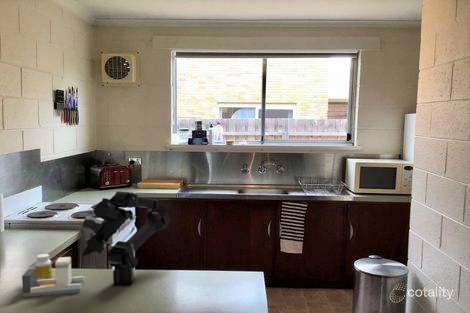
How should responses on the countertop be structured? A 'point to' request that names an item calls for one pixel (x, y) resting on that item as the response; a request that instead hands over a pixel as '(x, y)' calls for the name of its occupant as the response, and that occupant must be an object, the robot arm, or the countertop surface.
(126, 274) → the robot arm
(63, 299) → the countertop surface
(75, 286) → the track
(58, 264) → the cream banded box
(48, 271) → the supplement bottle
